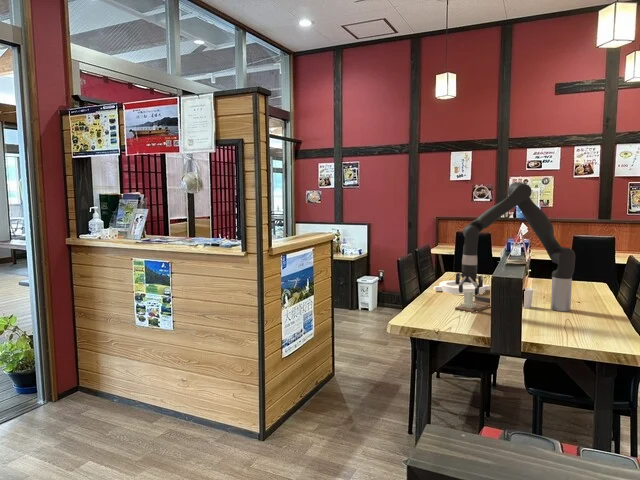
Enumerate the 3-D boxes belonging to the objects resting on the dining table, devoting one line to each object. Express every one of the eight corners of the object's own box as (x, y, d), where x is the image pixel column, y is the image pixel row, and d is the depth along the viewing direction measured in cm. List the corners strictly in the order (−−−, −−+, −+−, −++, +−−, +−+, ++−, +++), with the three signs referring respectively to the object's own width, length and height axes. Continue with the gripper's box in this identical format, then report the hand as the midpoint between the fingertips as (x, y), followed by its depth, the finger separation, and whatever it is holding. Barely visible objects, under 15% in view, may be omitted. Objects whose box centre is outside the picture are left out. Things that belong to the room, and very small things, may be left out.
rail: (476, 302, 252) (476, 295, 252) (493, 305, 245) (493, 298, 244) (454, 309, 235) (455, 302, 235) (472, 313, 228) (472, 305, 228)
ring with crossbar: (491, 291, 285) (492, 283, 285) (474, 298, 265) (474, 290, 264) (450, 285, 304) (451, 278, 304) (431, 292, 283) (431, 284, 283)
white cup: (517, 304, 247) (517, 286, 246) (532, 306, 243) (533, 288, 242) (515, 307, 240) (516, 289, 239) (531, 309, 236) (532, 290, 235)
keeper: (465, 305, 239) (465, 290, 238) (476, 307, 235) (476, 292, 234) (460, 306, 235) (461, 291, 235) (471, 308, 231) (471, 293, 230)
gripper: (485, 264, 230) (484, 295, 232) (460, 261, 241) (459, 290, 242) (479, 265, 225) (477, 297, 227) (453, 262, 235) (452, 292, 237)
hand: (468, 293), depth 234 cm, fingers open, 8 cm apart
